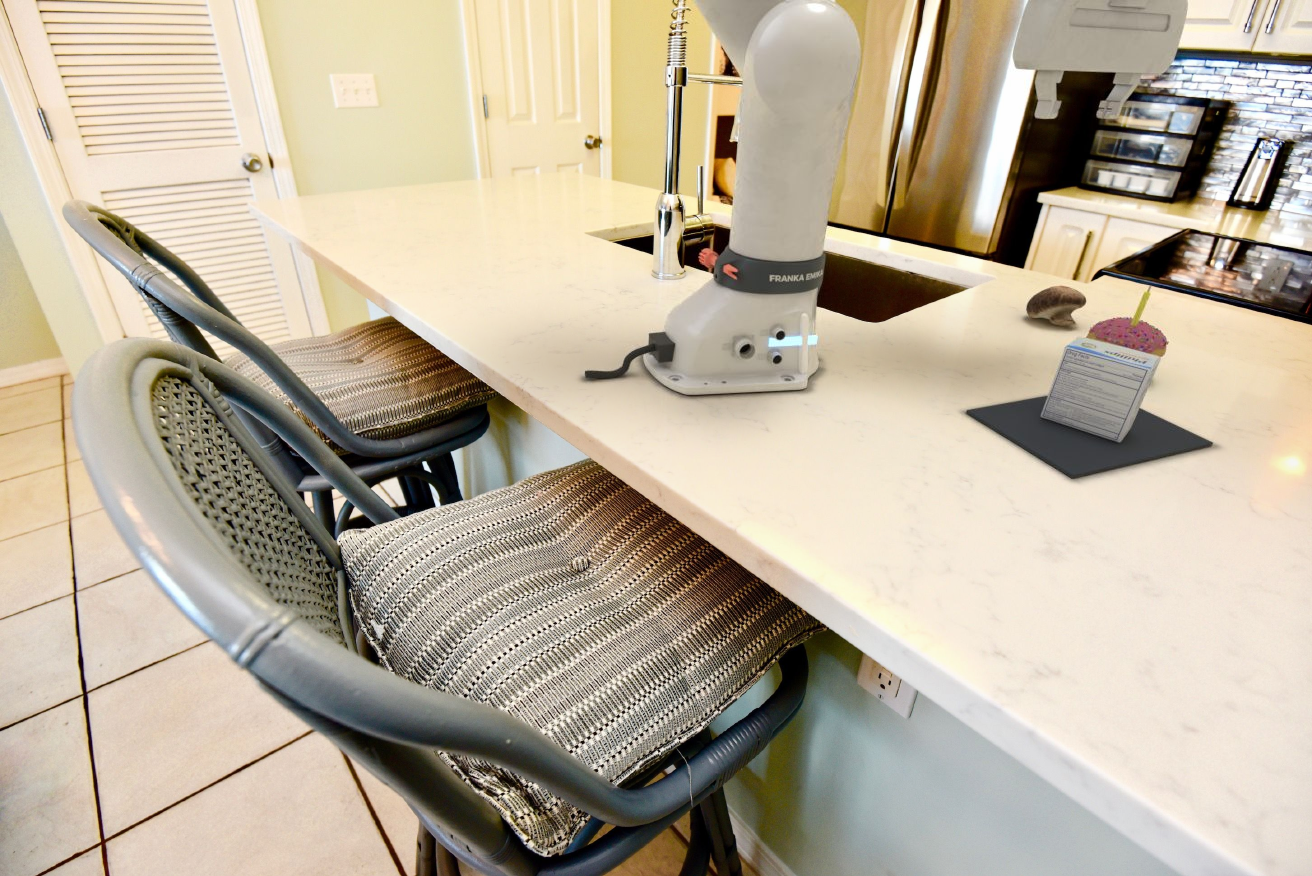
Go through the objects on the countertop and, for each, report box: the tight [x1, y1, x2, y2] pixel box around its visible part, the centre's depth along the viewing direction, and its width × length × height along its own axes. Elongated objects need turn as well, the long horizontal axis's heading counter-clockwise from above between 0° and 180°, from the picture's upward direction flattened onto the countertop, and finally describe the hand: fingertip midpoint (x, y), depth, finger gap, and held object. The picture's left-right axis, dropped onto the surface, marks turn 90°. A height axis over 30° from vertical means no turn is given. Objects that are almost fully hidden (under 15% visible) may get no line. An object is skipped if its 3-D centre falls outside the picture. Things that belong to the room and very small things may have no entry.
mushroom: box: [1025, 285, 1087, 327], centre depth 100 cm, size 8×8×6 cm
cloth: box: [965, 395, 1214, 479], centre depth 72 cm, size 20×14×1 cm
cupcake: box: [1085, 285, 1170, 358], centre depth 83 cm, size 9×8×12 cm
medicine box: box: [1041, 336, 1162, 443], centre depth 70 cm, size 8×4×9 cm, turn 46°
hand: (1076, 118), depth 75 cm, fingers open, 8 cm apart
